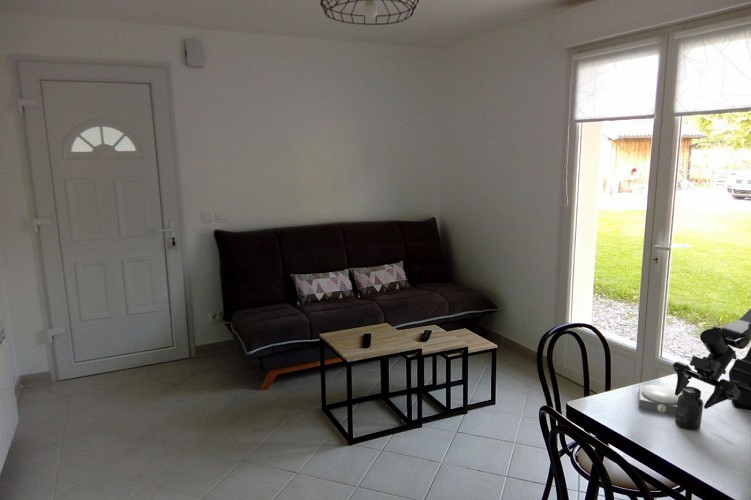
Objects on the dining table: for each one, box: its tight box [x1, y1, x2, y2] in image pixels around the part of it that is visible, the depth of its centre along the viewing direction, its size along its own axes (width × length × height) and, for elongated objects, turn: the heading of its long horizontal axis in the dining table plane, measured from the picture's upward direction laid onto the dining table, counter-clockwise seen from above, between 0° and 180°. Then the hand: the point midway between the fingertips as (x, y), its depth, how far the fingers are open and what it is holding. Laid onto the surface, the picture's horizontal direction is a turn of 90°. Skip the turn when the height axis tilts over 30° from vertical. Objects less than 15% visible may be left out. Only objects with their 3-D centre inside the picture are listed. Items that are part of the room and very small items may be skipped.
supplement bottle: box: [674, 385, 704, 431], centre depth 160 cm, size 7×7×12 cm
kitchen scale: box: [638, 383, 682, 416], centre depth 174 cm, size 13×14×4 cm
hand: (689, 401), depth 160 cm, fingers open, 9 cm apart
